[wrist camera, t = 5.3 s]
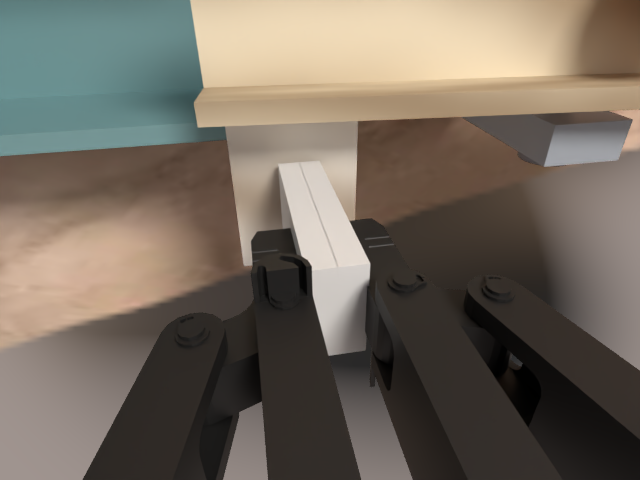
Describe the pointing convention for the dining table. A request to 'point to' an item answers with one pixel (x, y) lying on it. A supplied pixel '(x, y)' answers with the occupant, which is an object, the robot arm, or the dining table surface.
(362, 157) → the dining table surface
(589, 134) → the stand
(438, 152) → the dining table surface
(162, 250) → the dining table surface
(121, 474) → the robot arm
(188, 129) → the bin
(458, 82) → the lever
